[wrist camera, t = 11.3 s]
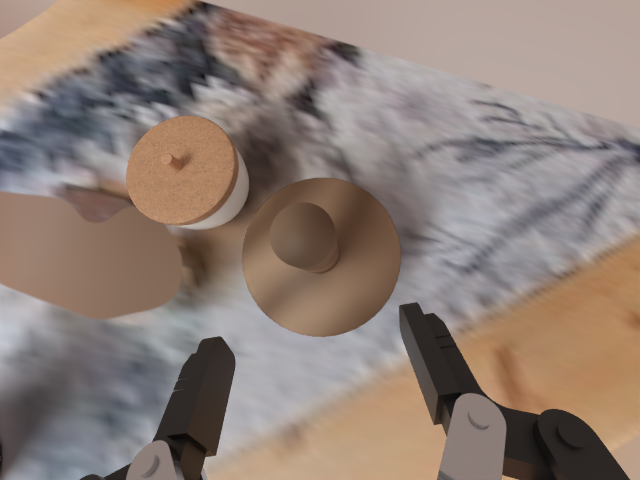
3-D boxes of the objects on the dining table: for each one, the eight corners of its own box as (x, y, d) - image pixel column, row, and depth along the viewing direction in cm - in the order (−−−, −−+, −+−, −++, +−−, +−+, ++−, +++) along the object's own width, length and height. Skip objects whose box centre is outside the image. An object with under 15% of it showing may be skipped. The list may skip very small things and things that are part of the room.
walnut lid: (218, 275, 24) (132, 270, 15) (301, 157, 26) (273, 79, 16) (342, 367, 22) (339, 435, 12) (427, 232, 23) (488, 194, 13)
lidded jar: (182, 156, 33) (118, 106, 24) (264, 152, 32) (230, 98, 22) (173, 239, 31) (100, 220, 22) (260, 238, 30) (221, 217, 21)
